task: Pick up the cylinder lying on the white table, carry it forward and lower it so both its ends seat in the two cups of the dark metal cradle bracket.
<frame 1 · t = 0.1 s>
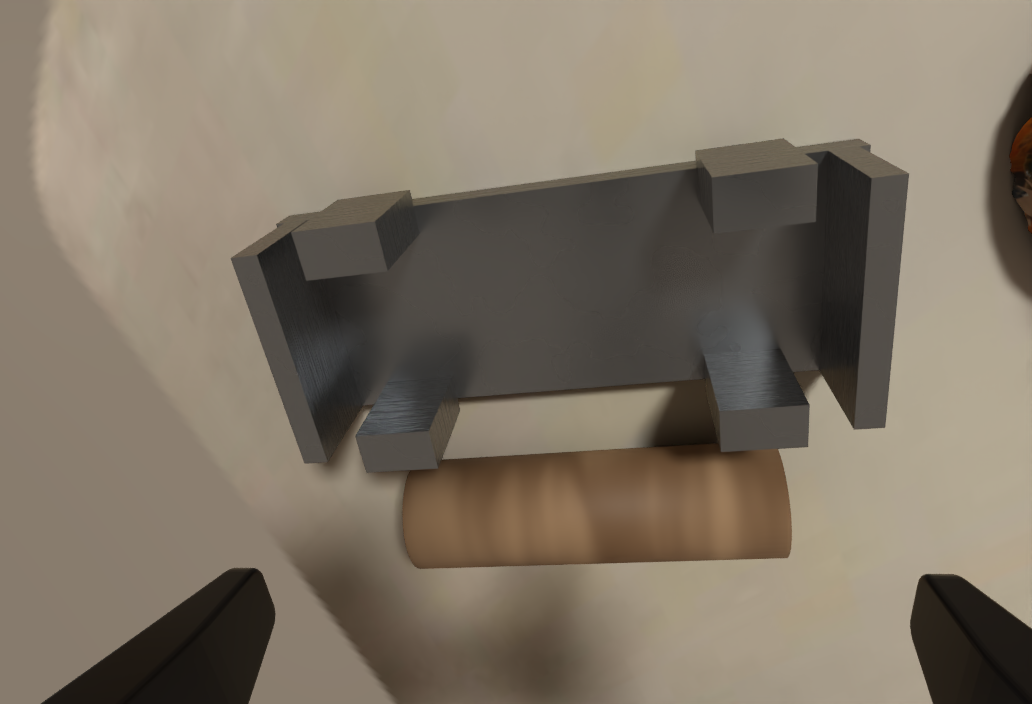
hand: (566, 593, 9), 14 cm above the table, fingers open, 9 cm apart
cylinder: (592, 472, 26), on the table
cradle: (565, 284, 23), on the table
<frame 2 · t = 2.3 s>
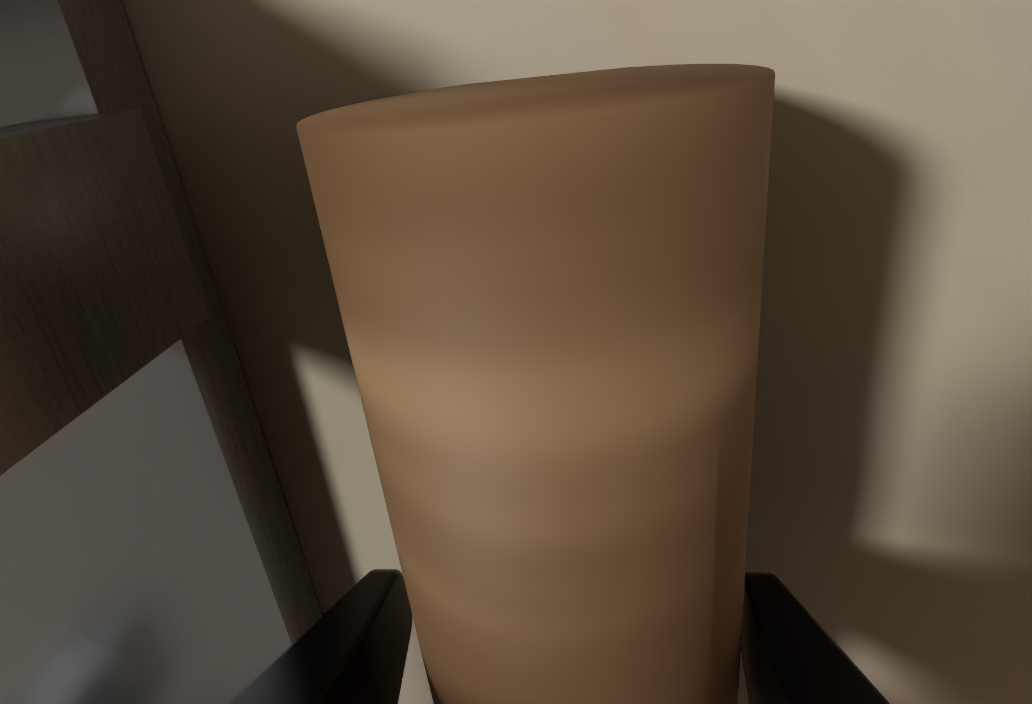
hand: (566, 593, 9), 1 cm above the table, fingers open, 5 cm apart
cylinder: (560, 522, 10), on the table, tilted 10°
cradle: (106, 533, 12), on the table
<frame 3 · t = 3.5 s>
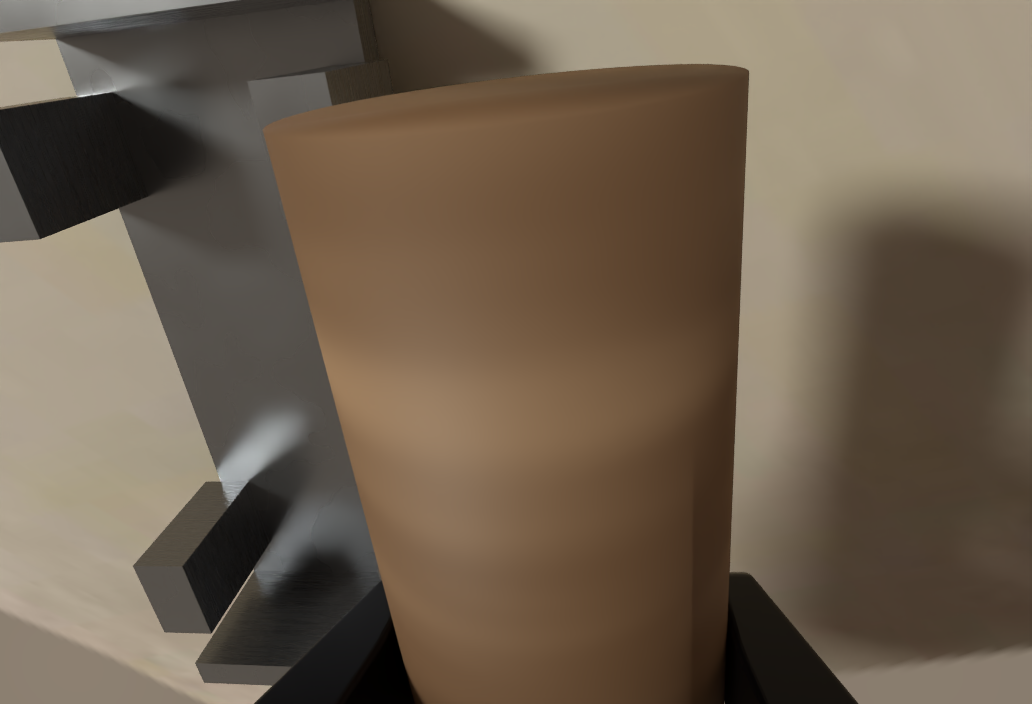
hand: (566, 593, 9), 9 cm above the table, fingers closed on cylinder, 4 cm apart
cylinder: (567, 526, 10), point 8 cm above the table, touching gripper
cradle: (307, 333, 19), on the table
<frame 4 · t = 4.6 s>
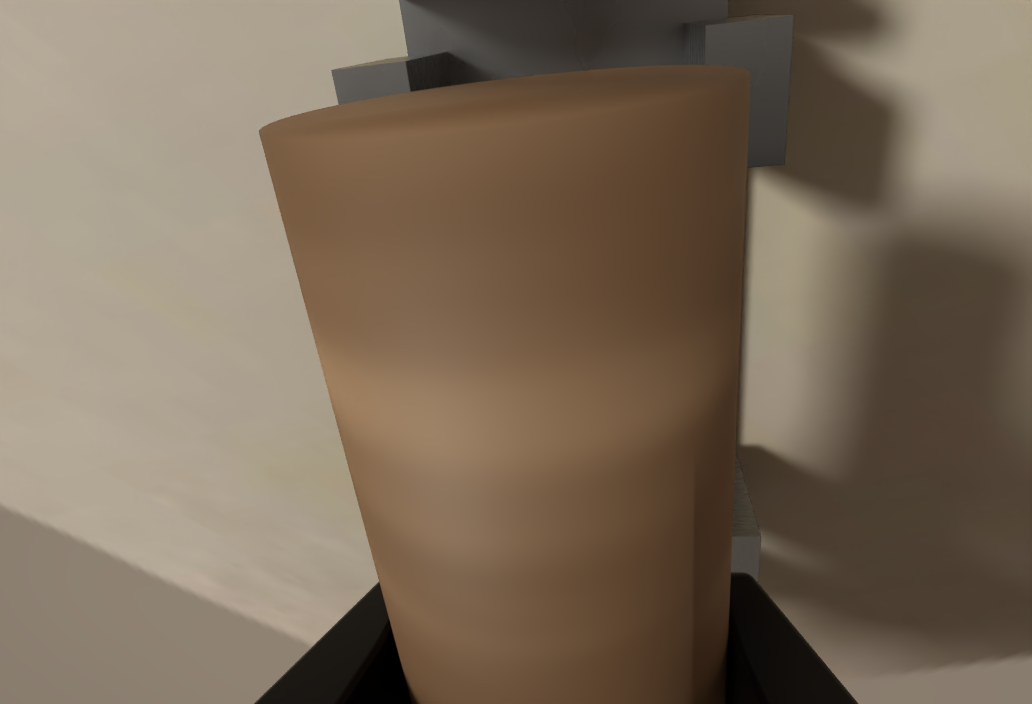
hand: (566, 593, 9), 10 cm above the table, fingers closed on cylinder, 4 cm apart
cylinder: (566, 529, 10), point 9 cm above the table, touching gripper
cradle: (583, 303, 18), on the table
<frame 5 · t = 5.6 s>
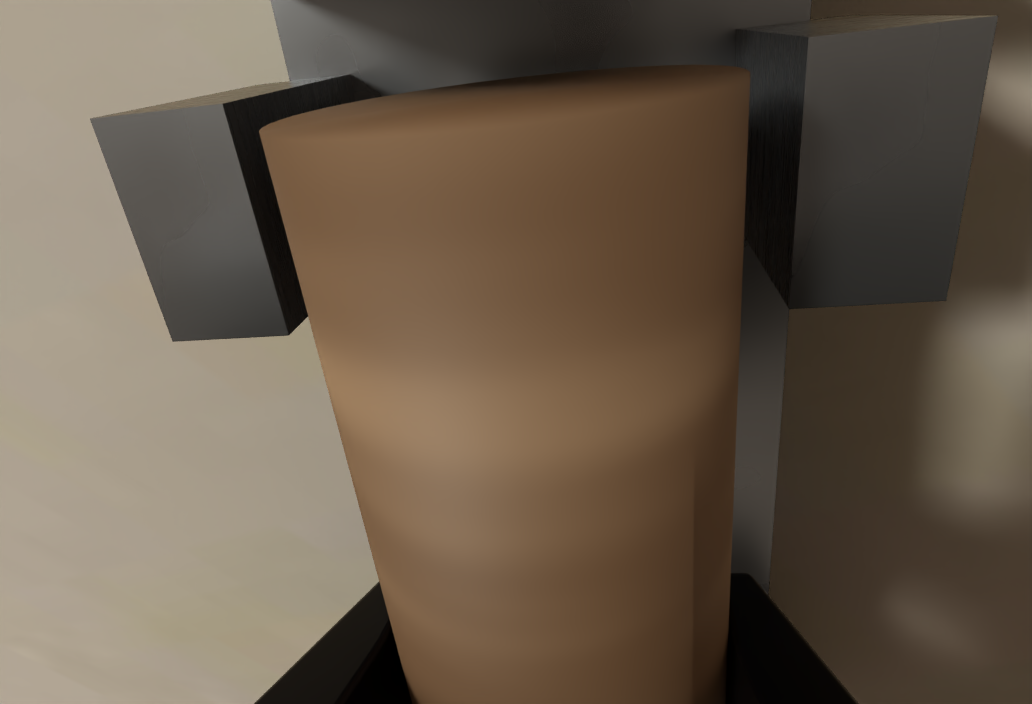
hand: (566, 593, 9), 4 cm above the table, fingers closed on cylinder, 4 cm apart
cylinder: (566, 529, 10), point 3 cm above the table, touching gripper
cradle: (573, 432, 13), on the table
when the fingers open (3 cm above the table, at t = 6.4 s): cylinder drops 1 cm, resting on cradle.
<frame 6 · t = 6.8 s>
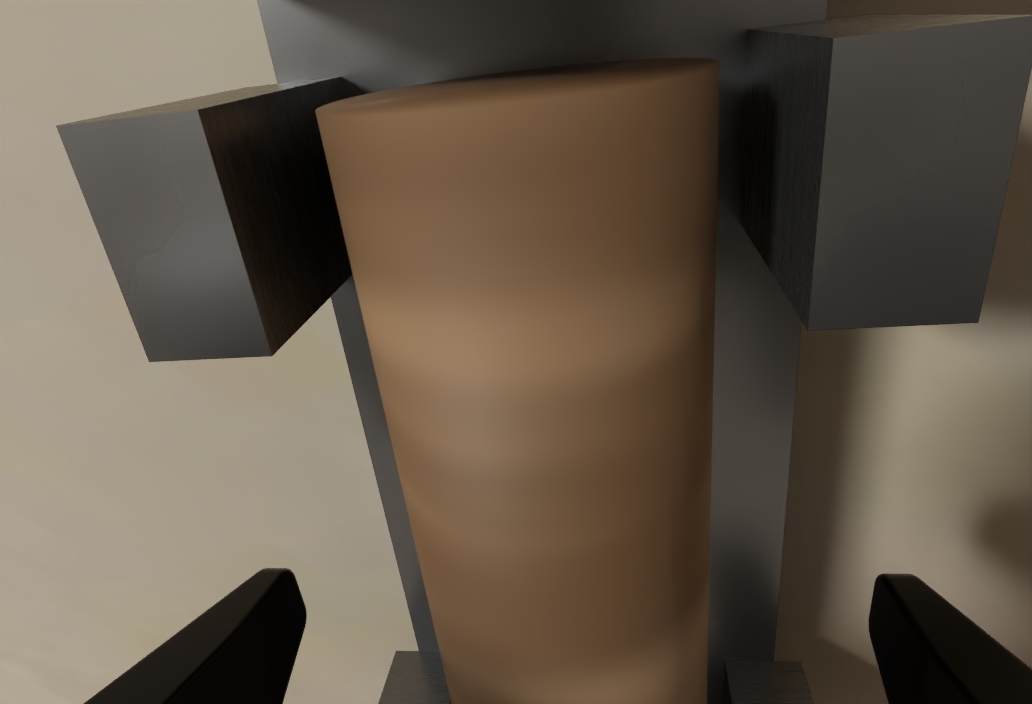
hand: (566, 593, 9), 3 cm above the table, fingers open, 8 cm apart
cylinder: (572, 479, 11), point 1 cm above the table, touching cradle
cradle: (575, 447, 12), on the table
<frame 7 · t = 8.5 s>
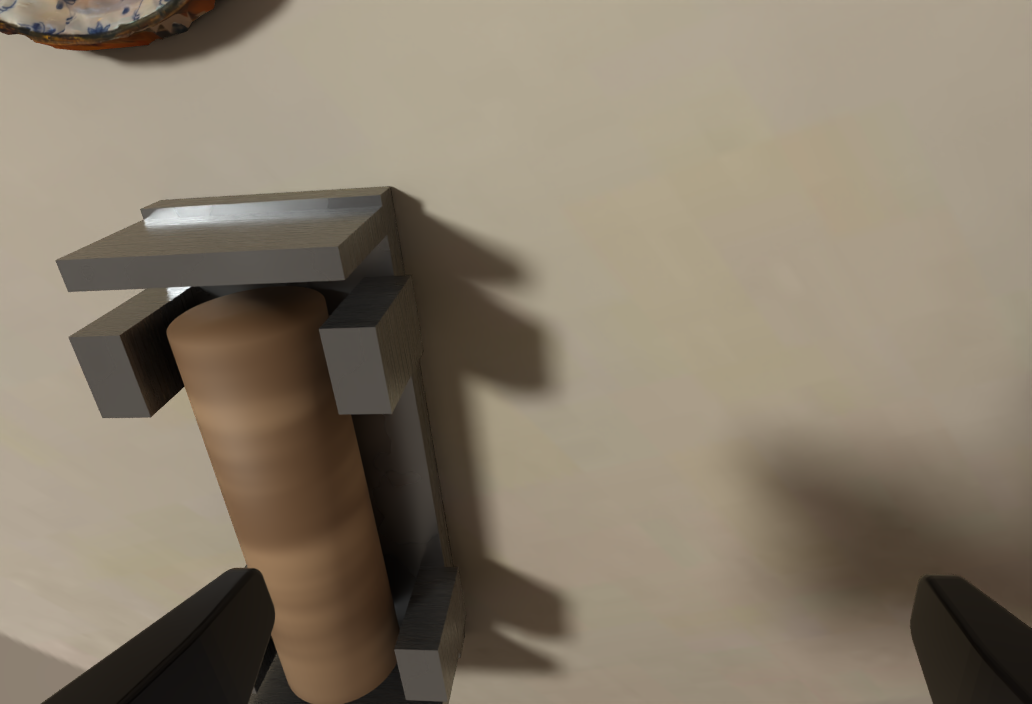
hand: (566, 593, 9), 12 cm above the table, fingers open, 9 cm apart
cylinder: (325, 468, 22), point 1 cm above the table, touching cradle
cradle: (335, 451, 23), on the table
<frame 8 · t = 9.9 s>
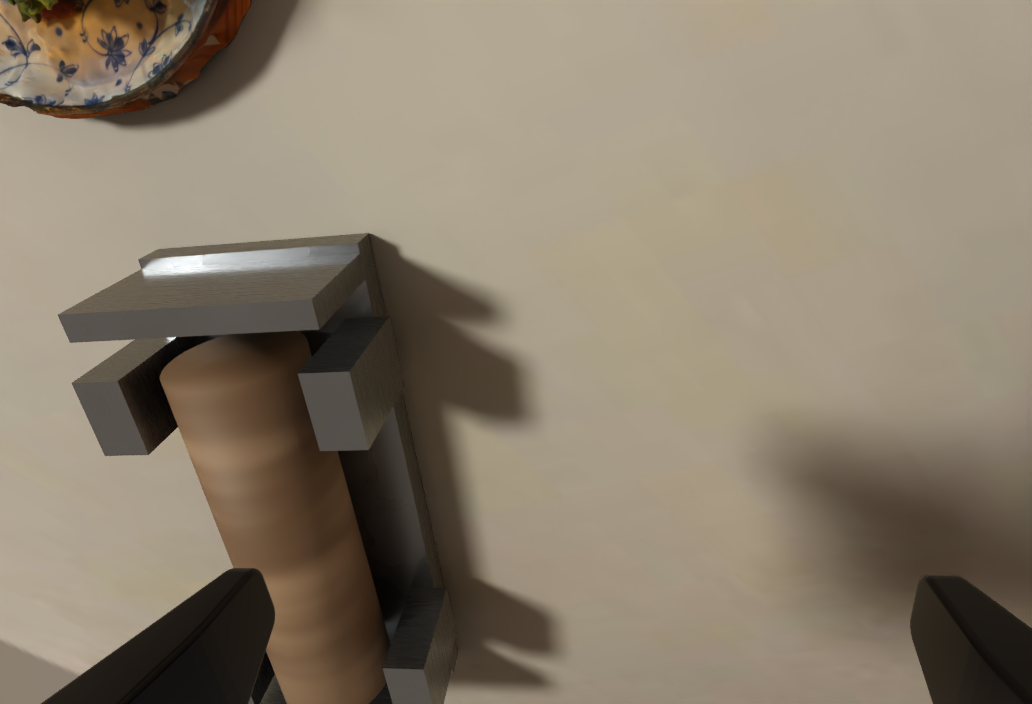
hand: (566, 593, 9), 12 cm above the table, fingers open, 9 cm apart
cylinder: (317, 495, 24), point 1 cm above the table, touching cradle
cradle: (328, 478, 24), on the table
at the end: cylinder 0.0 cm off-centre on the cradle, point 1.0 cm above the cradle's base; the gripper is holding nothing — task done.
